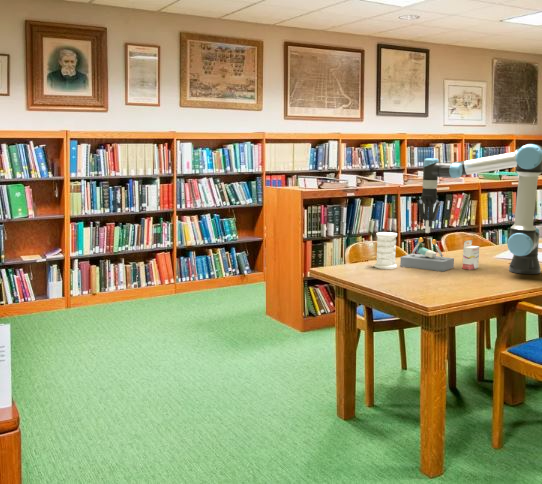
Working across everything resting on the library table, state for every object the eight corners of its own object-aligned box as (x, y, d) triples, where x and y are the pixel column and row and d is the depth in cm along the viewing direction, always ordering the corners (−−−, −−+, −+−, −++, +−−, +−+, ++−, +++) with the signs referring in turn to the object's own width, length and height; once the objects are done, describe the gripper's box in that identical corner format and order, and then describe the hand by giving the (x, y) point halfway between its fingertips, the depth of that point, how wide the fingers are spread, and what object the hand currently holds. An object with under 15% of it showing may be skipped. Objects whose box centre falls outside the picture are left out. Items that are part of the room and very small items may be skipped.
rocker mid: (435, 256, 342) (436, 252, 341) (431, 258, 338) (432, 254, 337) (422, 251, 346) (423, 247, 345) (418, 252, 342) (419, 248, 342)
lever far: (415, 254, 347) (424, 239, 343) (413, 254, 345) (422, 239, 341) (411, 251, 348) (421, 236, 344) (409, 252, 346) (419, 236, 342)
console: (453, 267, 341) (454, 256, 340) (443, 271, 330) (443, 260, 329) (411, 262, 356) (412, 251, 355) (400, 266, 345) (400, 255, 344)
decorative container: (401, 267, 340) (402, 234, 337) (384, 269, 334) (385, 235, 332) (386, 264, 350) (387, 231, 347) (370, 266, 344) (371, 233, 341)
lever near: (445, 254, 337) (435, 238, 339) (443, 255, 335) (433, 238, 337) (441, 257, 339) (431, 240, 341) (439, 257, 337) (429, 241, 339)
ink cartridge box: (470, 270, 334) (472, 242, 332) (462, 269, 337) (463, 241, 335) (478, 268, 340) (480, 240, 338) (470, 266, 343) (471, 239, 341)
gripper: (444, 188, 336) (442, 233, 339) (421, 187, 343) (419, 230, 347) (438, 189, 330) (436, 234, 333) (415, 187, 338) (413, 232, 341)
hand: (427, 232), depth 340 cm, fingers closed
